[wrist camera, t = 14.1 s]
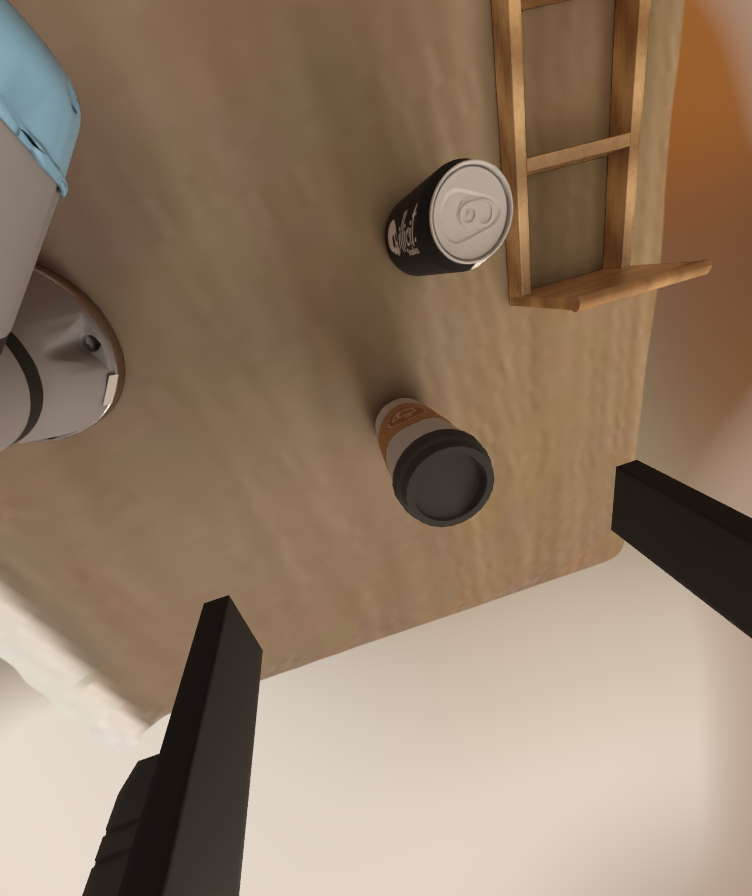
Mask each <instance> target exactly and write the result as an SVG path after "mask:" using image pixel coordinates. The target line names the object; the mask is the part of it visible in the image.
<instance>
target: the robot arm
mask: <svg viewBox="0 0 752 896" xmlns="http://www.w3.org/2000/svg"><path fill="white" fill-rule="evenodd" d="M80 123H81V113H80V106H79V102H78V99H77V96H76V93H75V91H74V89H73V86H72V83H71V81H70V80H69V78H68V76H67V75H66V73H65V72H64V70H63V68H62V67H61V65H60V63H59V62H58V60H57V59H56V57H55V56H54V55H53V53H52V52H51V51H50V49H49V48H48V47H47V46H46V44H45V43H44V42H43V41H42V39H41V38H40V37H39V36H38V34H37V33H36V32H35V31H34V29H33V28H32V27H31V26H30V25H29V24H28V22H27V21H26V20H25V19H24V18H23V17H22V16H21V14H20V13H19V12H18V11H17V10H16V9H15V8H14V7H13V5H12V4H11V3H10V2H9V1H8V0H0V452H1V451H3V450H4V449H6V448H8V447H10V446H11V445H16V444H20V443H25V442H43V441H52V440H59V439H63V438H67V437H70V436H73V435H76V434H78V433H80V432H82V431H84V430H86V429H88V428H89V427H91V426H92V425H94V424H95V423H97V422H98V421H100V420H101V419H102V418H104V417H105V416H106V415H107V414H108V413H109V412H110V411H111V410H112V409H113V407H114V406H115V405H116V403H117V401H118V399H119V397H120V395H121V393H122V389H123V386H124V379H125V364H124V358H123V353H122V350H121V346H120V344H119V341H118V339H117V337H116V335H115V333H114V331H113V329H112V327H111V326H110V324H109V322H108V321H107V319H106V318H105V317H104V315H103V314H102V313H101V311H100V310H99V309H98V308H97V307H96V306H95V304H94V303H93V302H92V301H91V300H90V299H89V298H88V297H87V296H85V295H84V294H83V293H82V292H81V291H80V290H78V289H77V288H76V287H74V286H73V285H72V284H70V283H69V282H68V281H66V280H64V279H63V278H61V277H60V276H58V275H56V274H54V273H52V272H51V271H49V270H47V269H45V268H42V267H40V266H38V265H35V264H36V261H37V258H38V255H39V252H40V250H41V247H42V244H43V241H44V239H45V236H46V233H47V230H48V228H49V225H50V222H51V219H52V217H53V214H54V211H55V208H56V206H57V203H58V200H59V197H60V196H62V197H65V196H66V194H67V192H68V184H67V182H66V179H65V177H66V174H67V170H68V167H69V163H70V160H71V157H72V153H73V150H74V146H75V143H76V140H77V136H78V133H79V129H80ZM611 530H612V531H613V532H615V533H616V534H617V535H618V536H620V537H621V538H622V539H624V540H625V541H626V542H628V543H629V544H630V545H632V546H633V547H634V548H635V549H637V550H638V551H639V552H640V553H642V554H643V555H644V556H646V557H647V558H648V559H650V560H651V561H652V562H654V563H655V564H656V565H657V566H659V567H660V568H661V569H663V570H664V571H665V572H666V573H668V574H669V575H670V576H672V577H673V578H674V579H676V580H677V581H678V582H679V583H681V584H682V585H683V586H684V587H686V588H687V589H689V590H690V591H691V592H692V593H693V594H695V595H696V596H697V597H699V598H700V599H701V600H703V601H704V602H705V603H706V604H708V605H709V606H710V607H712V608H713V609H714V610H715V611H717V612H718V613H719V614H721V615H722V616H724V617H725V618H726V619H727V620H728V621H730V622H731V623H732V624H734V625H735V626H736V627H737V628H739V629H740V630H741V631H743V632H744V633H745V634H747V635H748V636H749V637H750V638H752V518H750V517H748V516H746V515H744V514H742V513H740V512H738V511H736V510H734V509H732V508H731V507H729V506H727V505H725V504H723V503H721V502H719V501H717V500H715V499H713V498H711V497H709V496H707V495H705V494H703V493H701V492H699V491H697V490H695V489H693V488H691V487H689V486H687V485H685V484H683V483H681V482H679V481H677V480H675V479H673V478H671V477H670V476H668V475H666V474H663V473H662V472H660V471H658V470H656V469H654V468H652V467H650V466H648V465H646V464H644V463H642V462H640V461H638V460H635V461H632V462H629V463H626V464H623V465H620V466H617V467H616V477H615V489H614V501H613V514H612V526H611ZM262 652H263V650H262V649H261V647H260V645H259V644H258V642H257V640H256V639H255V637H254V635H253V634H252V632H251V631H250V629H249V627H248V626H247V624H246V622H245V621H244V619H243V617H242V616H241V614H240V612H239V611H238V609H237V608H236V606H235V604H234V603H233V601H232V599H231V598H230V596H229V595H228V596H225V597H222V598H219V599H216V600H213V601H210V602H207V603H204V605H203V609H202V612H201V615H200V619H199V622H198V626H197V629H196V632H195V636H194V639H193V642H192V646H191V649H190V652H189V656H188V659H187V663H186V666H185V669H184V673H183V676H182V679H181V683H180V686H179V690H178V693H177V696H176V700H175V703H174V706H173V710H172V713H171V716H170V720H169V723H168V727H167V730H166V734H165V737H164V740H163V744H162V747H161V750H160V754H157V755H155V756H152V757H149V758H146V759H143V760H141V761H138V762H137V764H136V766H135V767H134V769H133V770H132V772H131V774H130V775H129V777H128V779H127V780H126V782H125V784H124V785H123V787H122V789H121V790H120V792H119V794H118V796H117V799H116V802H115V805H114V808H113V810H112V813H111V816H110V819H109V822H108V824H107V828H106V835H105V836H104V837H103V839H102V842H101V845H100V847H99V850H98V853H97V856H96V858H95V861H96V863H95V866H94V868H92V870H91V873H90V875H89V878H88V881H87V884H86V887H85V890H84V893H83V895H82V896H239V890H240V879H241V869H242V859H243V849H244V838H245V828H246V817H247V807H248V797H249V787H250V776H251V765H252V756H253V745H254V735H255V723H256V713H257V704H258V694H259V683H260V673H261V663H262Z"/></svg>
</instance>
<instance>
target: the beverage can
mask: <svg viewBox="0 0 752 896" xmlns="http://www.w3.org/2000/svg"><path fill="white" fill-rule="evenodd" d="M512 216H513V198H512V192H511V189H510V186H509V183H508V181H507V179H506V178H505V176H504V175H503V173H502V172H501V171H500V170H499V169H498V168H497V167H496V166H495V165H493V164H492V163H489V162H487V161H484V160H479V159H468V158H466V159H457V160H453V161H451V162H448V163H446V164H445V165H443V166H442V167H440V168H439V169H438V170H437V171H435V172H434V173H433V174H432V175H431V176H429V177H428V178H427V179H426V180H425V181H424V182H422V183H421V184H420V185H419V186H418V187H416V188H415V189H414V190H413V191H412V192H411V193H409V194H408V195H407V196H406V197H405V198H404V199H402V200H401V201H400V202H399V203H398V204H397V205H396V206H395V207H394V209H393V210H392V212H391V214H390V216H389V218H388V221H387V225H386V230H385V241H386V247H387V251H388V253H389V256H390V258H391V260H392V261H393V263H394V264H395V265H396V266H397V267H398V268H399V269H400V270H402V271H403V272H405V273H407V274H410V275H414V276H423V275H434V274H444V273H454V272H464V271H468V270H471V269H474V268H476V267H478V266H479V265H481V264H482V263H484V262H485V261H486V260H487V259H488V258H489V257H490V256H491V255H492V254H493V253H494V252H495V251H496V250H497V249H498V248H499V247H500V246H501V244H502V243H503V241H504V240H505V238H506V236H507V234H508V231H509V229H510V226H511V222H512Z"/></svg>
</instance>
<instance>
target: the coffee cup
mask: <svg viewBox="0 0 752 896" xmlns="http://www.w3.org/2000/svg"><path fill="white" fill-rule="evenodd" d="M375 431H376V435H377V438H378V442H379V445H380V449H381V452H382V455H383V458H384V460H385V463H386V466H387V469H388V471H389V472H390V475H391V478H392V480H393V489H394V492H395V496H396V497H397V499H398V500H399V502H400V504H401V505H402V506H403V507H404V509H405V510H406V512H408V513H409V514H410V515H411V516H413V517H414V518H416V519H418V520H419V521H421V522H422V523H425V524H427V525H430V526H436V527H447V526H453V525H456V524H459V523H462V522H464V521H466V520H467V519H469V518H471V517H473V516H474V515H475V514H476V513H477V512H478V511H479V510H480V509H482V507H483V506H484V505H485V503H486V502H487V500H488V499H489V496H490V494H491V492H492V490H493V484H494V473H493V468H492V465H491V460H490V458H489V456H488V453H487V451H486V450H485V449H484V448H483V447H482V445H481V444H480V443H479V442H478V441H477V440H476V439H475V437H474V436H472V435H470V434H468V433H466V432H464V431H461V430H459V429H458V428H456V427H455V426H453V425H452V424H451V423H450V422H449V421H448V420H446V419H445V418H443V417H442V416H440V415H439V414H437V413H436V412H434V411H433V410H431V409H430V408H428V407H426V406H424V405H423V404H421V403H420V402H418V401H416V400H414V399H410V398H399V399H396V400H393V401H391V402H390V403H388V404H386V405H385V406H384V407H383V408H382V409H381V411H380V412H379V414H378V416H377V419H376V422H375Z"/></svg>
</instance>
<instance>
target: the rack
mask: <svg viewBox="0 0 752 896" xmlns="http://www.w3.org/2000/svg"><path fill="white" fill-rule="evenodd" d="M562 1H567V0H491V8H492V23H493V39H494V55H495V71H496V88H497V104H498V120H499V137H500V153H501V169H502V173H503V175H504V176H505V178H506V179H507V181H508V183H509V186H510V189H511V192H512V198H513V216H512V222H511V226H510V229H509V231H508V234H507V236H506V250H507V267H508V283H509V300H510V305H513V306H525V307H536V308H548V309H560V310H572V311H573V312H578V311H582V310H585V309H588V308H592V307H595V306H599V305H602V304H606V303H609V302H612V301H616V300H619V299H623V298H626V297H630V296H633V295H637V294H640V293H643V292H647V291H650V290H654V289H657V288H661V287H664V286H667V285H670V284H674V283H677V282H681V281H685V280H688V279H691V278H695V277H698V276H701V275H705V274H707V273H708V272H709V271H710V270H711V267H712V264H711V262H710V261H709V260H707V259H705V260H701V261H694V262H679V263H663V264H648V265H633V266H630V259H631V246H632V234H633V221H634V208H635V196H636V183H637V170H638V158H639V145H640V132H641V119H642V107H643V94H644V81H645V69H646V56H647V43H648V31H649V18H650V5H651V0H616V6H615V27H614V48H613V69H612V90H611V110H610V131H609V138H606V139H602V140H598V141H594V142H590V143H586V144H582V145H578V146H574V147H570V148H566V149H562V150H558V151H554V152H550V153H546V154H542V155H538V156H534V157H531V158H527V159H526V138H525V110H524V81H523V53H522V25H521V10H525V9H530V8H534V7H539V6H544V5H548V4H553V3H558V2H562ZM604 156H608V173H607V194H606V215H605V236H604V256H603V269H602V270H598V271H595V272H591V273H588V274H584V275H581V276H577V277H574V278H570V279H567V280H563V281H559V282H556V283H552V284H549V285H545V286H542V287H538V288H535V289H531V278H530V250H529V222H528V194H527V176H529V175H533V174H537V173H541V172H545V171H549V170H553V169H557V168H561V167H565V166H569V165H572V164H576V163H580V162H584V161H588V160H592V159H596V158H600V157H604Z"/></svg>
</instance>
